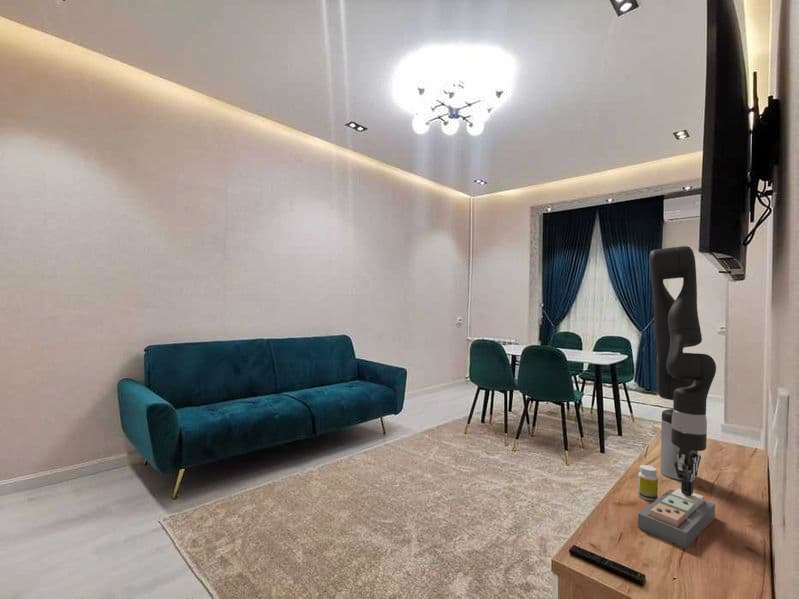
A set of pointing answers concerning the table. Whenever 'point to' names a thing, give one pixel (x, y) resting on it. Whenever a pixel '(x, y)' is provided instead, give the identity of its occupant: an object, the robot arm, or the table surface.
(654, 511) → the tile three
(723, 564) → the table surface
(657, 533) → the well board
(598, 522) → the table surface
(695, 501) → the tile one
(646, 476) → the supplement bottle
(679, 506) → the tile two
